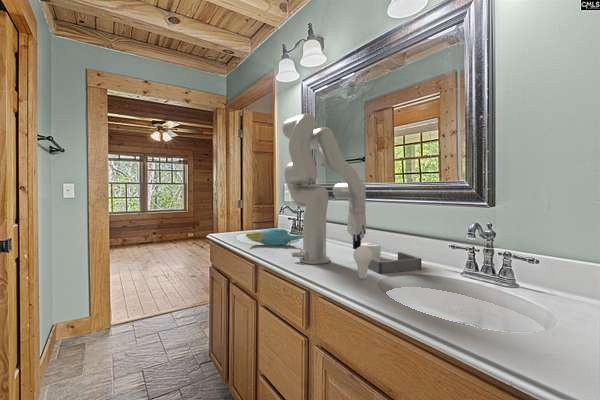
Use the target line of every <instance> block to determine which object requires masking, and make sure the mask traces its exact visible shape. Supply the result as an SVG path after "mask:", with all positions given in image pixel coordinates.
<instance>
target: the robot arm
mask: <svg viewBox="0 0 600 400" xmlns="http://www.w3.org/2000/svg"><path fill="white" fill-rule="evenodd" d="M316 127H317V120H316V117H315V116H314V115H313V114H312V113H308V112H307V113H306V112H305V113H302V114H299V115H296V116H293V117H291V118H287V120H285V121H284V123H283V125H282V130H281V131H282V133H283V135H284V136H285V138H287V139H288V153H289V157H290V159H291V162H289V163H288V164H287V165H286V166H285V167H284V181H285V182H286V185H287V189H288V191H289V194H290V197H291V199H292V201H293V202H294V204H295V205H296V206H298V207H301V208H305V210H304V213H303V218H302V223H303V225H302V226H303V230H302V231H303V233H302V235H303V238H302V240H303V241H302V244H303V247H302V248H301V249H300V251H293V252H292V253H291V256H292V258H297V259H298V258H299V262H301V263H303V264H309V265H323V264H327V263H329V262H330V257H329V256H327V209H328V204H329V198H330V197H329V191H328V190H327V189H326V187H324V186H322V185H320V184H311V183H314V182H316V180H317V179H318V174H319V173H318V169H317V165H316V162H315V160H314V157H313V154H312V150H317V151H318V153H319V155H320V156H319V157H320V158H321V160H322V163H323V165H324V167H325V168H327V170H330V171H332V172H334V173H336V174H338V175H339V176H340V177H341V178H342V179H343V180H344V181H345V182H338V183H336V184H334V186H333V187H332V194H333V196H334V198H336V199H338V200H339V199H340V200H348V215H347V226H346V227H347V228H346V231H347V233H348V234H350V235H351V237H352V249H353V250H355V249H356V248H358V247H360V246H361V243H362V239H363V238H365V235H366V234H367V218H366V206H367V205H366V200H367V199H366V197H367V196H366V195H367V193H366V191H367V190H366V189H367V186H366V184H365V183H362V181H361V178H360V176H359V174H358V172H357V170H356V169H354V167H353V166H352V165H351V164H350V163H349V162H348V161H347V160H345V159H344V158H343V155H342V153H341V149H340V147H339V144H338V142H337V140H336V137H335V135H334V133H333V132H334V131H332V129H331V128H329V127H326V126H321V127H318V128H316Z"/></svg>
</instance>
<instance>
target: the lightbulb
mask: <svg viewBox="0 0 600 400" xmlns="http://www.w3.org/2000/svg"><path fill="white" fill-rule="evenodd" d="M352 255H353V256H352V257H353V259H354V261H355V264H356V266H357V271H358V278H359V279H361V280H365V279H367V273H368V265H369V263H370V261H371V259H372V252H371V251H370V249H369V248H367V247H365V246H360V247H358V248H356V249H354V251H353V253H352Z"/></svg>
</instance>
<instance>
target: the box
mask: <svg viewBox="0 0 600 400" xmlns="http://www.w3.org/2000/svg"><path fill="white" fill-rule="evenodd" d="M368 269H369V270H370V271H372V272H375V273H377V274H379V275H380V274H381V275H382V274H390V273H399V272H409V271H410V272H411V271H417V270H422V258H421V257H417V256H414V255H410V254H408V253H404V252H401V251H399V252H398V251H397V259H394V260H382V261H378V260H375V259H373V258H372V259H371V261H370V263H369V265H368Z"/></svg>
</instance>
